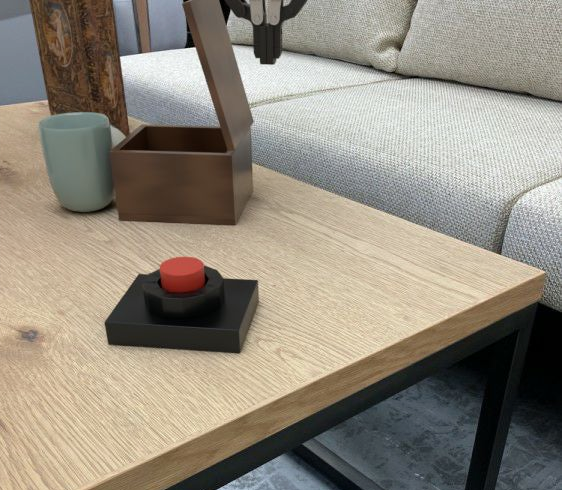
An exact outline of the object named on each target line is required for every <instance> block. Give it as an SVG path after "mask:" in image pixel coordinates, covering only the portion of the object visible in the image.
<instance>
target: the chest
mask: <svg viewBox="0 0 562 490" xmlns="http://www.w3.org/2000/svg"><path fill="white" fill-rule="evenodd" d="M109 156H110V163H111V170H112V176H113V183H114V190H115V195H114V197H115V202H116V203H115V204H116V210H117V216H118V220H119V221H129V222H130V221H131V222H133V221H134V222H155V223H177V224H202V225H223V226H225V225H226V226H236V225H237V222H238V221H239V219H240V217H241V215H242V213H243V211H244V209H245V207H246V205H247V203H248V201H249V199H250V197H251V196H252V194H253V192H254V177H253V176H254V173H253V172H254V171H253V147H252V126H251V127H250V128H249V130H248V131H247V133H246V134H245V136H244V137H243V139H242V140H241V142H240V143H239V145H238V146H237V148H236V149H235V150H233V151H229V152H228V150H227V147H226V143H225V140H224V137H223V134H222V131H221V127H220V125H189V124H188V125H185V124H147V123H146V124H145V123H144V124H142V123H141V124H140V125H139V126H138V127H136V128H135V129H134V130H133V131H131V132H130V134H129V135H128V136H127V137H126V138H125V139H123V140H122V141H121V142H120V143H119V144H118V145H116V146H115V147H114V148H113V149H112V150H110V151H109Z"/></svg>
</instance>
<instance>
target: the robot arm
mask: <svg viewBox="0 0 562 490" xmlns="http://www.w3.org/2000/svg"><path fill="white" fill-rule="evenodd" d="M308 1H309V0H290V2H289V3H288V4H286V5H284V3H285V0H268V2H267V1H266V0H249V2H248V1H247V0H224V2H225V3H226V5H227V6H228V7H229V9H230V10H231V12H232V13H233V15H234V16H235V17H236V18H238V19H244V20H247V21H248V22H249V23H251V25H252V40H253V44H252V45H253V55H254V58H255V59H259V64H260V65H269V66H273V65H275V64H276V63H277V60H280V58H281V56H282V53H283V24H284V23H285V22H286V21H288V20H290V19H294V18H295V17H296V16H297V15H299V13H300V12H301V11H302V9H303V8H304V7H305V5H306V4H307V2H308ZM267 3H268V4H267ZM267 5H268V7H267Z"/></svg>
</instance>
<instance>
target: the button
mask: <svg viewBox="0 0 562 490" xmlns="http://www.w3.org/2000/svg"><path fill="white" fill-rule="evenodd" d="M204 266H205V265H204V262H203V260H201V259H199V258H197V257H193V256H176V257H171V258H168V259H166V260H164V261H163V262H161V263H160V264H159V269H160V276H161V285H162V288H163V289H164V290H167V291H170V292H188V291H193V290H197V289H199V288H201V287H203V286H204V285H205V274H204Z"/></svg>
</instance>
